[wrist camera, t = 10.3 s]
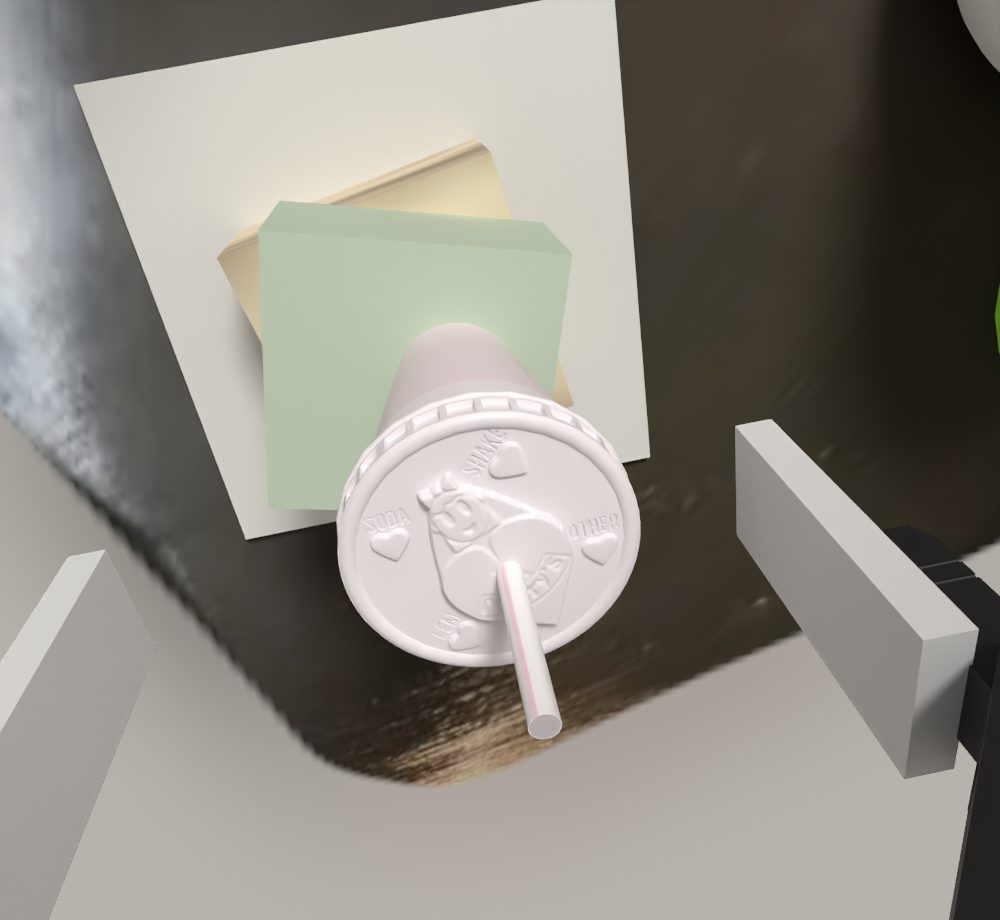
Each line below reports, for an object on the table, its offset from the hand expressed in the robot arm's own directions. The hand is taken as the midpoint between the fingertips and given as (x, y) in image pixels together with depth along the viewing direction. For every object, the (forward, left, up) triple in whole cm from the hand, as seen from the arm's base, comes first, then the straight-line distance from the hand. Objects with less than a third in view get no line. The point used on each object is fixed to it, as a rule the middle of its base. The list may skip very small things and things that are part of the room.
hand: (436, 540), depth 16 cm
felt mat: (0, 0, -20) cm, 20 cm away
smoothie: (0, +1, -9) cm, 9 cm away
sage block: (0, 0, -14) cm, 14 cm away
